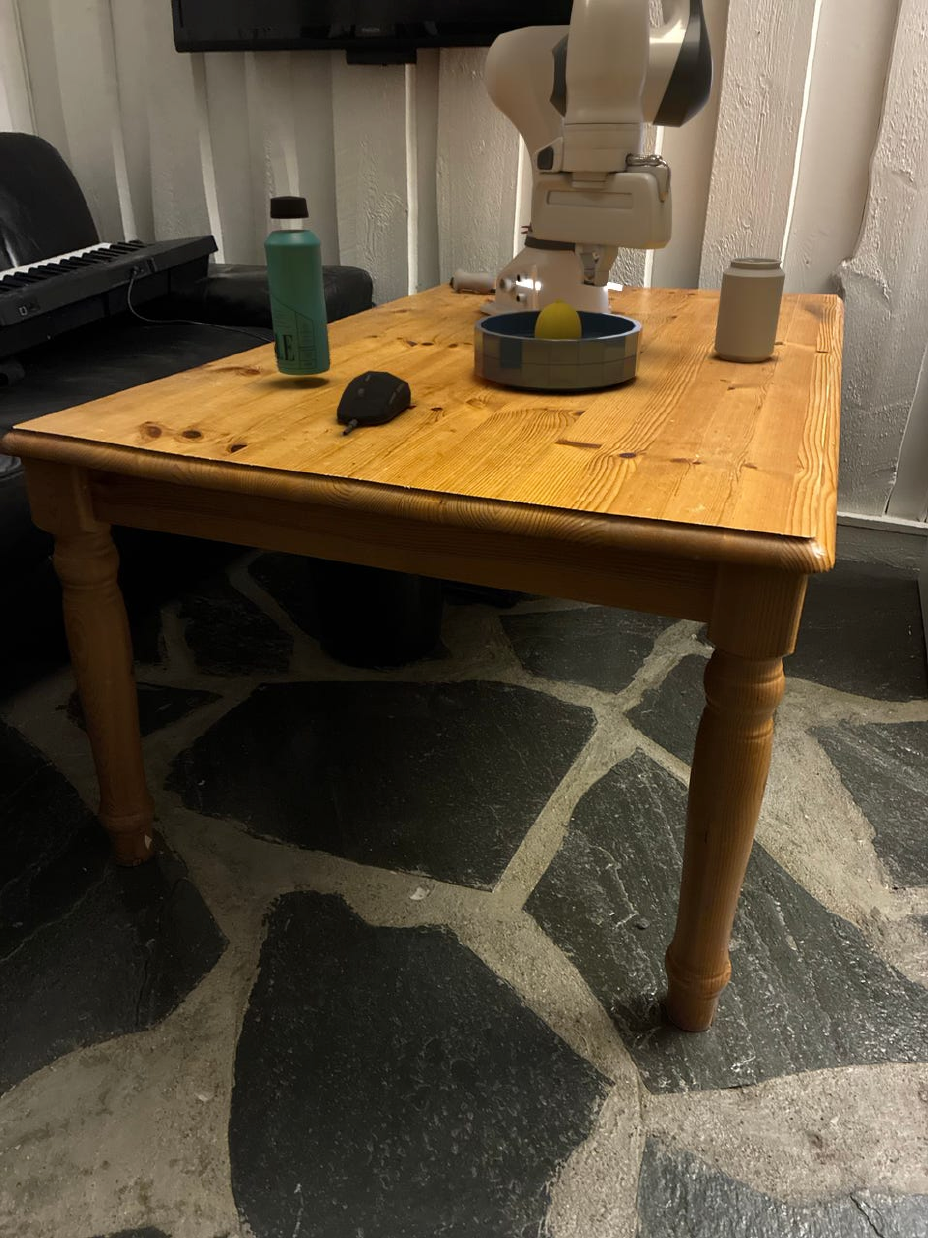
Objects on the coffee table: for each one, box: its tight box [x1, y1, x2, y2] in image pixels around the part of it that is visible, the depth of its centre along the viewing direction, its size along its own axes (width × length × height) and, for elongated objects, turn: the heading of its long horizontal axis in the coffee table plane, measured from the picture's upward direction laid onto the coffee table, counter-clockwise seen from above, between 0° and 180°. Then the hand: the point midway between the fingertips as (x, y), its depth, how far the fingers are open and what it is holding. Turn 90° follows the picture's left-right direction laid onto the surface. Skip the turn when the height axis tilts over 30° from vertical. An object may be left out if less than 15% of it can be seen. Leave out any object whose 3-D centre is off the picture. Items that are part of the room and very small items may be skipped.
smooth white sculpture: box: [452, 267, 496, 295], centre depth 167 cm, size 4×8×5 cm
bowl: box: [473, 310, 644, 393], centre depth 108 cm, size 20×20×6 cm
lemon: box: [535, 299, 581, 339], centre depth 107 cm, size 6×6×8 cm
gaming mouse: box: [336, 370, 412, 436], centre depth 93 cm, size 6×15×4 cm, turn 166°
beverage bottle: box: [263, 195, 333, 376], centre depth 102 cm, size 6×7×20 cm
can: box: [713, 256, 786, 363], centre depth 115 cm, size 8×8×12 cm
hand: (594, 285), depth 107 cm, fingers closed
